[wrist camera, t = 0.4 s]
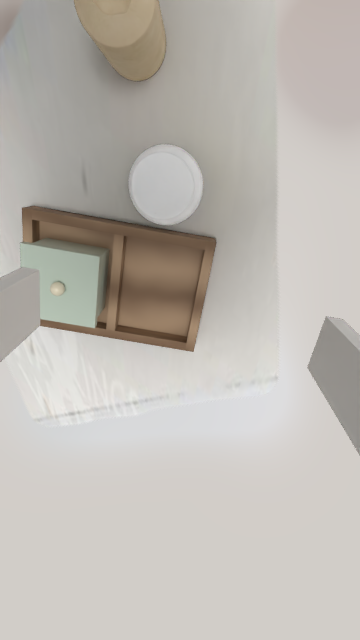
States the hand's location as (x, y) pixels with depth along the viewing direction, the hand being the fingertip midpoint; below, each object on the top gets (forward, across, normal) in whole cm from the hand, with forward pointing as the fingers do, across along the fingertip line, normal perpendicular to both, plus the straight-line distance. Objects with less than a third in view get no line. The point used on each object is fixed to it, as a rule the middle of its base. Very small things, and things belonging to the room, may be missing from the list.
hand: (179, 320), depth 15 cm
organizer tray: (+23, -7, -6) cm, 25 cm away
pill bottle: (+23, -3, +5) cm, 24 cm away
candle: (+23, -8, +16) cm, 29 cm away
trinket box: (+22, -12, -6) cm, 26 cm away
